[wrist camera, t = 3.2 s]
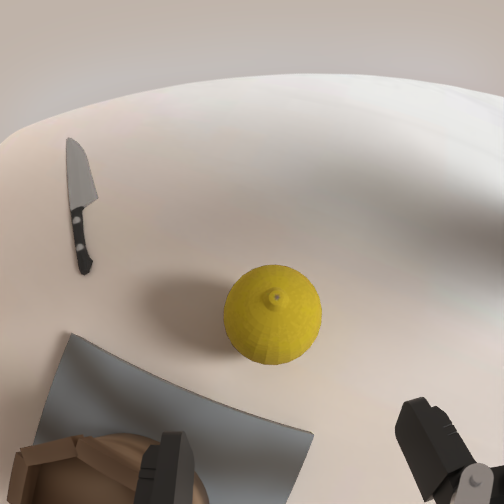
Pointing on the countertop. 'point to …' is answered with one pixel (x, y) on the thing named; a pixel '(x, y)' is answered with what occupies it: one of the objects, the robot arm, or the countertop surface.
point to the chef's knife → (79, 197)
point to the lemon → (272, 314)
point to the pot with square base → (146, 438)
